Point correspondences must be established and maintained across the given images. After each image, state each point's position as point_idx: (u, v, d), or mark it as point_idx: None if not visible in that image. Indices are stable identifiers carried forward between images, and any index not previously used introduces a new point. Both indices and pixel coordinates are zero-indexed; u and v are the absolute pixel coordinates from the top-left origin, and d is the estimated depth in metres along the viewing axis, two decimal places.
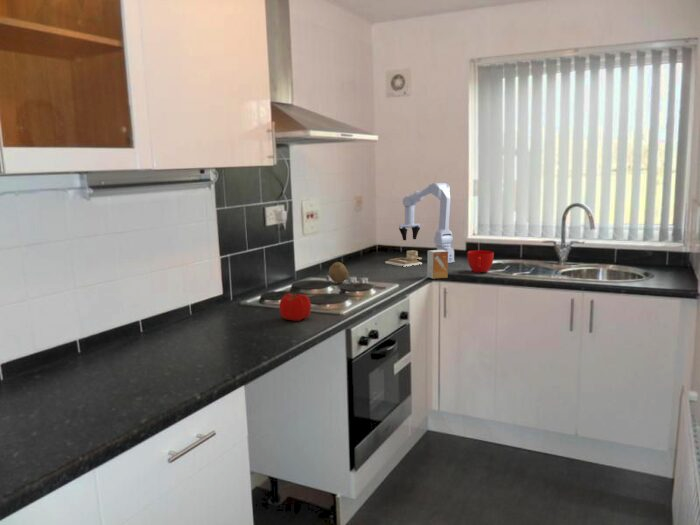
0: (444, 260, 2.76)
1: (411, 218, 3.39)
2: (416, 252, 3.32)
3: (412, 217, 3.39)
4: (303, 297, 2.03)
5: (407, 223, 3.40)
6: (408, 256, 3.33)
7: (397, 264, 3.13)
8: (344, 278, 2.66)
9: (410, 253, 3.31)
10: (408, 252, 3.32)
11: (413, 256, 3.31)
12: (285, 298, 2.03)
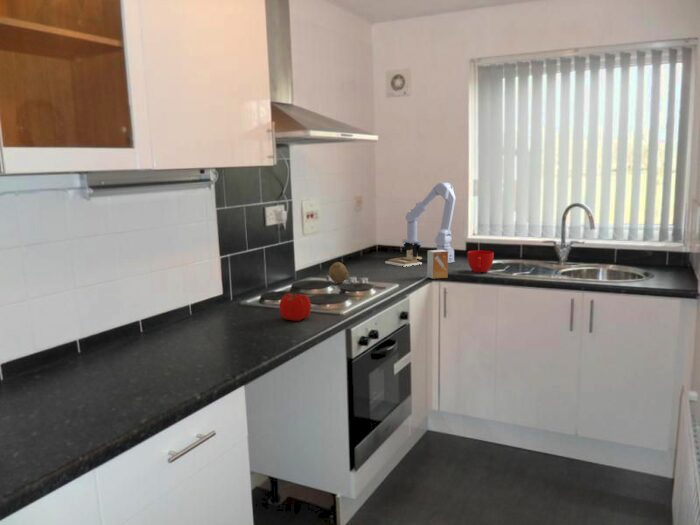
0: (444, 260, 2.76)
1: (407, 234, 3.30)
2: None
3: (408, 233, 3.30)
4: (303, 297, 2.03)
5: None
6: (408, 255, 3.33)
7: (397, 264, 3.13)
8: (344, 278, 2.66)
9: (410, 252, 3.31)
10: (408, 251, 3.32)
11: None
12: (285, 298, 2.03)
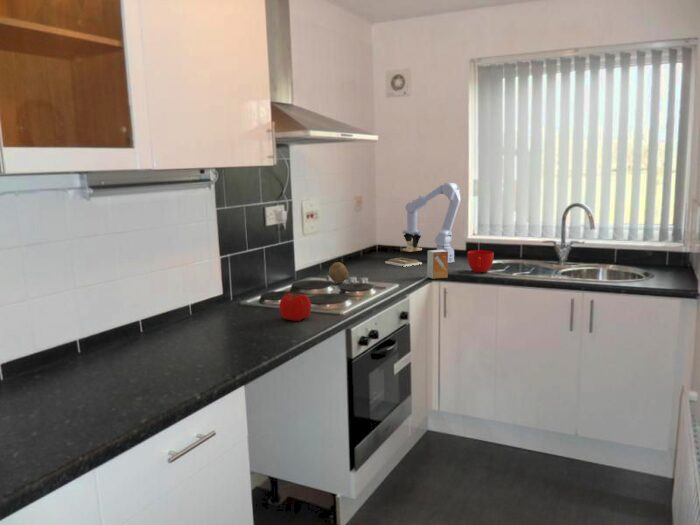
0: (444, 260, 2.76)
1: (407, 224, 3.30)
2: None
3: (408, 224, 3.29)
4: (303, 297, 2.03)
5: None
6: (408, 246, 3.32)
7: (397, 264, 3.13)
8: (344, 278, 2.66)
9: (410, 243, 3.30)
10: (408, 242, 3.31)
11: None
12: (285, 298, 2.03)
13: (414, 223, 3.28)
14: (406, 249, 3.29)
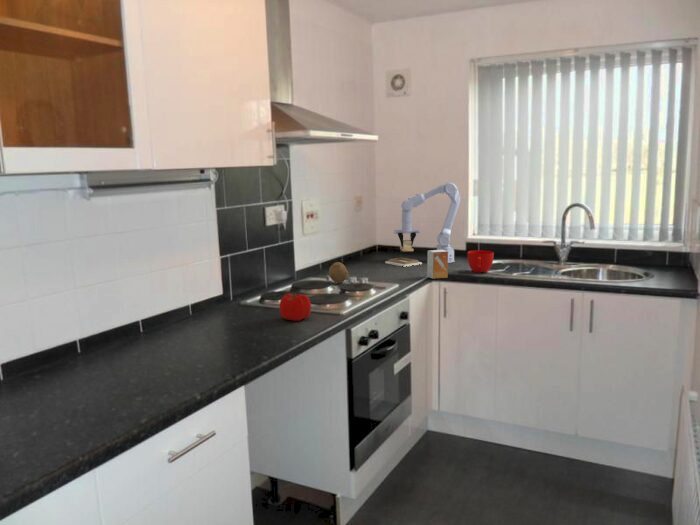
0: (444, 260, 2.76)
1: (406, 223, 3.19)
2: None
3: (407, 222, 3.19)
4: (303, 297, 2.03)
5: (402, 228, 3.20)
6: (406, 246, 3.21)
7: (397, 264, 3.13)
8: (344, 278, 2.66)
9: (409, 243, 3.21)
10: (406, 242, 3.21)
11: None
12: (285, 298, 2.03)
13: (411, 221, 3.21)
14: (409, 249, 3.19)
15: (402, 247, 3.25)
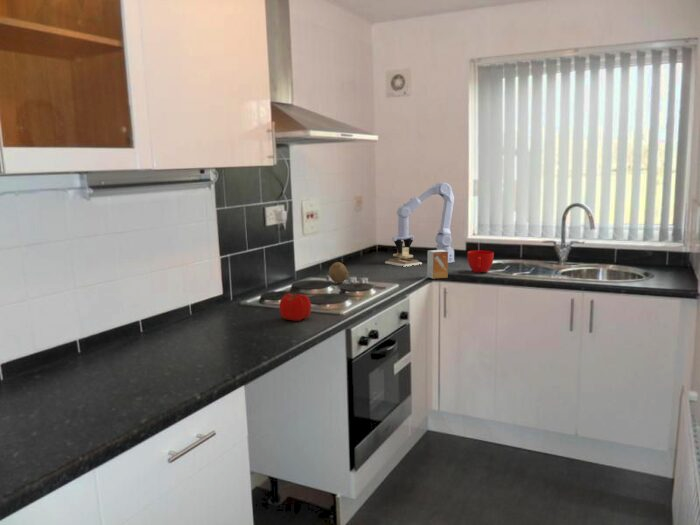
0: (444, 260, 2.76)
1: (405, 230, 3.14)
2: None
3: (406, 229, 3.14)
4: (303, 297, 2.03)
5: (401, 235, 3.14)
6: (404, 253, 3.16)
7: (397, 264, 3.13)
8: (344, 278, 2.66)
9: (407, 249, 3.17)
10: (404, 249, 3.16)
11: None
12: (285, 298, 2.03)
13: None
14: (409, 255, 3.15)
15: (398, 254, 3.18)
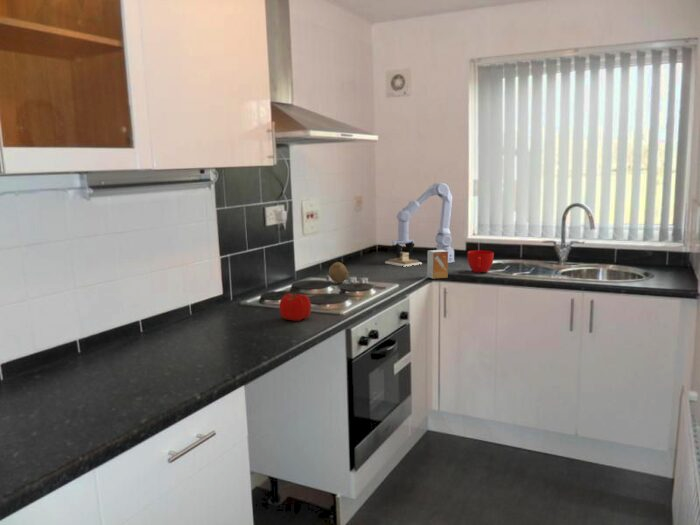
0: (444, 260, 2.76)
1: (405, 234, 3.14)
2: None
3: (406, 233, 3.14)
4: (303, 297, 2.03)
5: (401, 239, 3.15)
6: (404, 258, 3.17)
7: (397, 264, 3.13)
8: (344, 278, 2.66)
9: (407, 254, 3.17)
10: (404, 254, 3.16)
11: None
12: (285, 298, 2.03)
13: None
14: (409, 260, 3.16)
15: (398, 259, 3.19)
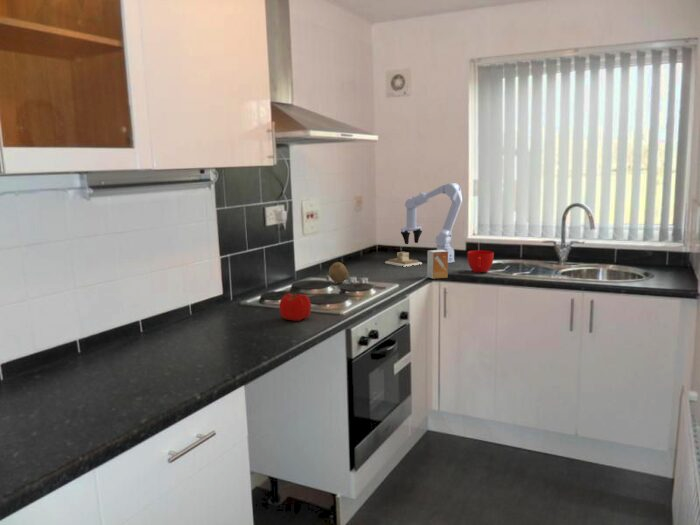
0: (444, 260, 2.76)
1: (413, 221, 3.26)
2: None
3: (414, 220, 3.27)
4: (303, 297, 2.03)
5: (409, 226, 3.27)
6: (404, 258, 3.17)
7: (397, 264, 3.13)
8: (344, 278, 2.66)
9: (407, 254, 3.17)
10: (404, 254, 3.16)
11: None
12: (285, 298, 2.03)
13: None
14: (409, 260, 3.16)
15: (398, 259, 3.19)
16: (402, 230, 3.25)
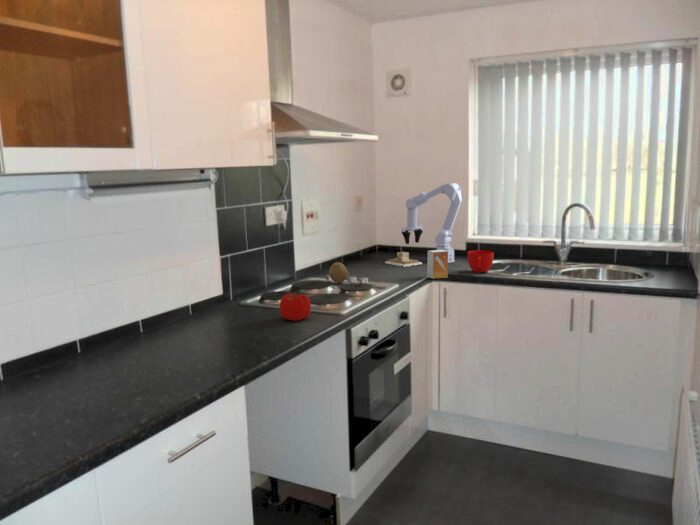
0: (444, 260, 2.76)
1: (414, 221, 3.28)
2: None
3: (415, 220, 3.28)
4: (303, 297, 2.03)
5: (410, 226, 3.28)
6: (404, 258, 3.17)
7: (397, 264, 3.13)
8: (344, 278, 2.66)
9: (407, 254, 3.17)
10: (404, 254, 3.16)
11: None
12: (285, 298, 2.03)
13: None
14: (409, 260, 3.16)
15: (398, 259, 3.19)
16: (403, 230, 3.27)
